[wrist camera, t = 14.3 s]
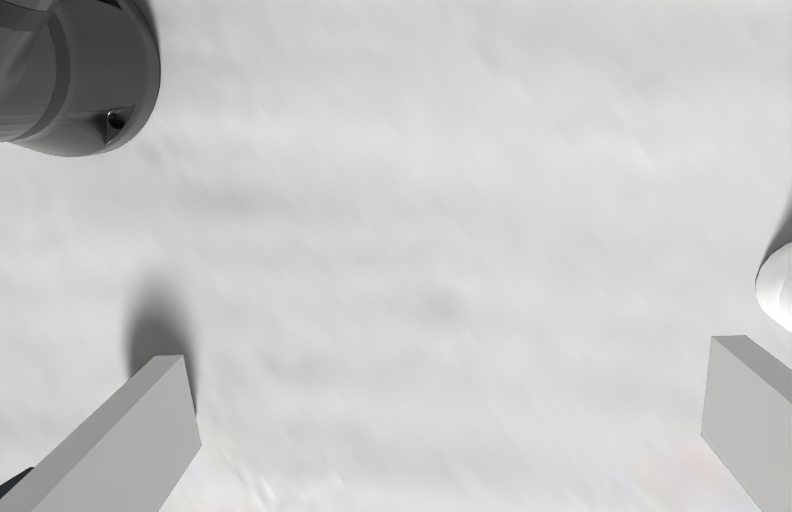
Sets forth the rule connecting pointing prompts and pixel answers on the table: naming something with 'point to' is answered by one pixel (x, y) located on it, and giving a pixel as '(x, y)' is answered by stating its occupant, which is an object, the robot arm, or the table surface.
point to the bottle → (777, 286)
